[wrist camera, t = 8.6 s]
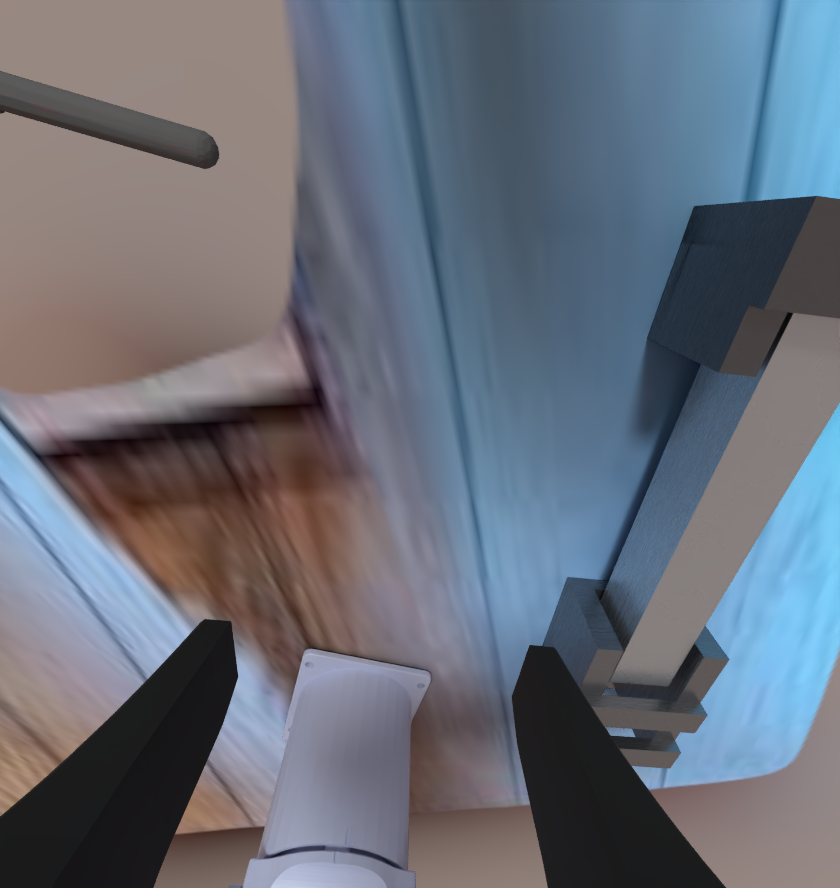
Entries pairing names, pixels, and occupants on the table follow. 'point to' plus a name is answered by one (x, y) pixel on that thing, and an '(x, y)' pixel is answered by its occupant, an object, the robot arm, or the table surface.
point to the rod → (717, 494)
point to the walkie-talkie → (106, 121)
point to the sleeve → (637, 706)
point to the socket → (749, 279)
